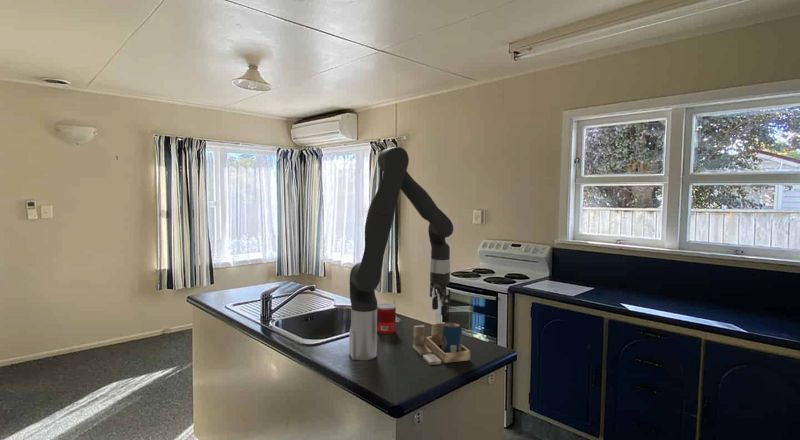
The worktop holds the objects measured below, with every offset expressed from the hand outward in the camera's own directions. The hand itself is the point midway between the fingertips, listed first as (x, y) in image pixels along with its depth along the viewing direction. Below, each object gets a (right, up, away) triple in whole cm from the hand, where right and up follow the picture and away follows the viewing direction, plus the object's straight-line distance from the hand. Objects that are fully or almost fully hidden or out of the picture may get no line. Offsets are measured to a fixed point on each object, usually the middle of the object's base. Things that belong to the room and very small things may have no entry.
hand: (439, 312), depth 160 cm
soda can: (+3, -14, -10) cm, 18 cm away
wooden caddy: (+2, -14, -7) cm, 15 cm away
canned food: (-21, -12, +16) cm, 29 cm away
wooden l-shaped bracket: (-6, -14, -9) cm, 17 cm away
